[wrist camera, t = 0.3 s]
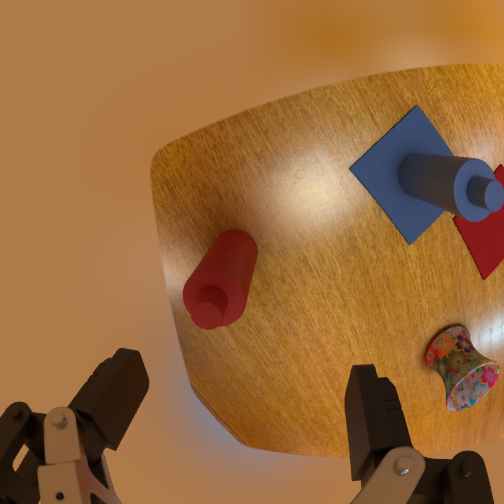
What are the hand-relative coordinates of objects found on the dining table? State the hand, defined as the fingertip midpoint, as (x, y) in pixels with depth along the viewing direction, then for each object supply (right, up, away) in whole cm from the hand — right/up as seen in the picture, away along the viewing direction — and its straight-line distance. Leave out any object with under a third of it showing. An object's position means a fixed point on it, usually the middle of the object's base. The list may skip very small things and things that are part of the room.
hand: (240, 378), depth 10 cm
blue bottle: (+19, +13, +19) cm, 30 cm away
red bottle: (-2, +5, +24) cm, 25 cm away
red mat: (+34, +9, +19) cm, 40 cm away
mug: (+32, -11, +27) cm, 43 cm away
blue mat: (+20, +14, +19) cm, 31 cm away
